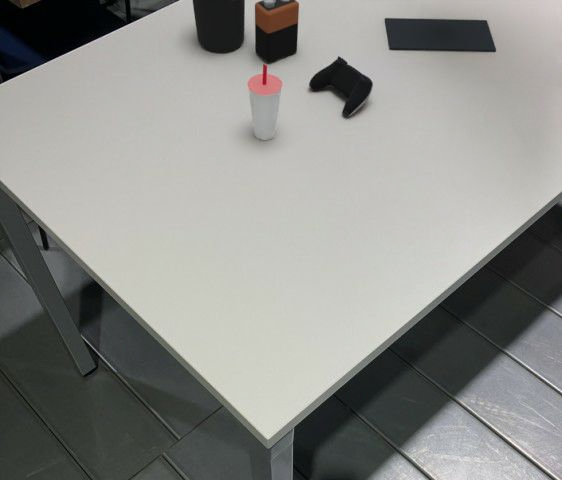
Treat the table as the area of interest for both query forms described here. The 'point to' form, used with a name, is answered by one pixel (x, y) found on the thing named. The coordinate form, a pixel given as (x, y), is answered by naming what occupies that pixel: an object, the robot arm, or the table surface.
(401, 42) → the mat
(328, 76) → the gaming controller
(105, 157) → the table surface
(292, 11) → the battery
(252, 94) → the cup
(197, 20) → the pen holder
